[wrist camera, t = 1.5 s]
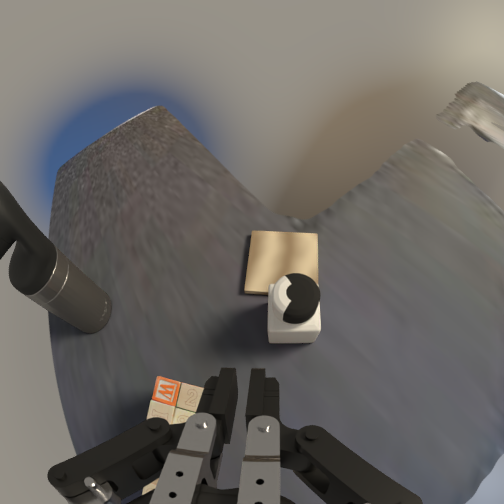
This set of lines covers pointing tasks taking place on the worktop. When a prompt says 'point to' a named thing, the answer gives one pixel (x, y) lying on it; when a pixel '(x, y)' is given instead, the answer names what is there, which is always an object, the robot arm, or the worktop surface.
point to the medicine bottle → (293, 310)
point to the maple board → (279, 258)
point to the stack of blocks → (172, 405)
